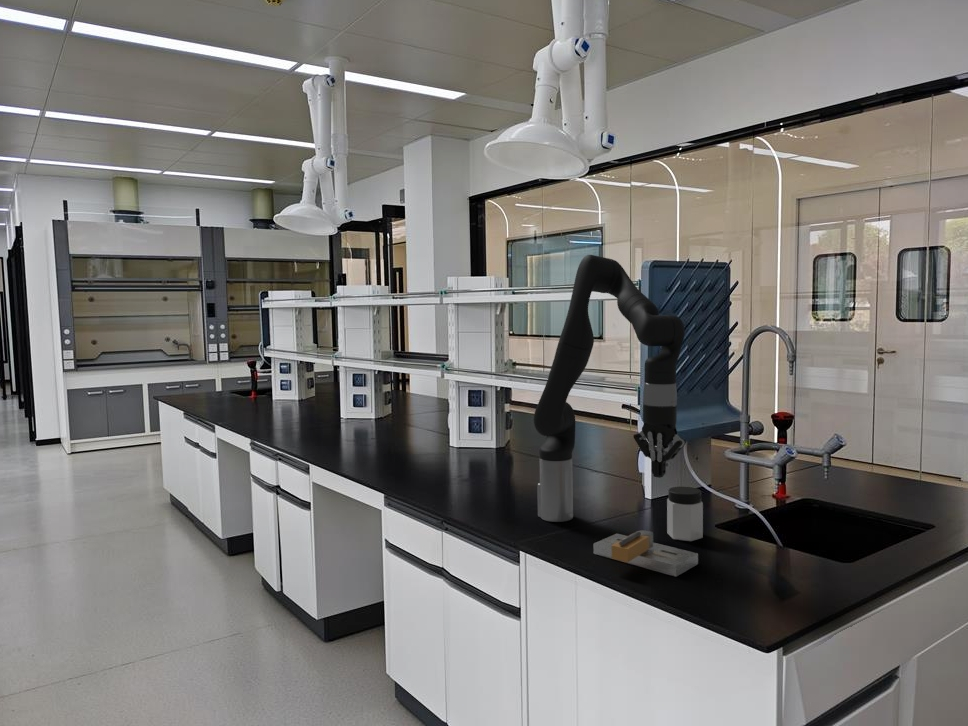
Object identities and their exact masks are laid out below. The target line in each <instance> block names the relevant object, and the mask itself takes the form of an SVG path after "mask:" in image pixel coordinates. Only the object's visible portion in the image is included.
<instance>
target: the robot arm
mask: <svg viewBox="0 0 968 726" xmlns="http://www.w3.org/2000/svg"><path fill="white" fill-rule="evenodd" d="M592 292H596V293H601V294H607V295H608V294H609V295H611V296H613V297H614V298H616V299H617V302H616V303H617V309H618V310H619V313H621V315H622V316H623V317H624V318H625V319H626V320H627V321H628V322H629V323H630V324H631V325H632V328H633V331H634V333H635V335H636V338H637V340H638V341H639V343H641V344H642V345H644V346H646V347H661V349H660V350H659V353H658V354H656V355H653V356H650V357H648V358H646V359H645V361H644V369H643V371H644V380H643V381H644V382H643V390H642V391H643V392H642V422H643V425H642V428H641V431H639V432H638V433H634V434H633V439H634V441H635V442H636V444H637V446H638V447H639V449H640V450H641V452H642V454H643V455H644V457H645V458H649V459H650V460H651V473H652V474H653V478H659V479H661V478H663V477H664V475H666V473H667V471H666V467H667V462H668V461H669V460H674V458H675V457H676V456H677V455H678V454H679V452H681V450H682V449H683V448H684V446H685V445H686V444H687V440H686V439H684V438H683V439H682V438H681V437H680V436H679V435H678V430H677V427H676V424H677V411H678V410H677V408H678V406H677V405H678V403H677V402H678V392H677V364H678V360H679V357H680V354H681V350H682V346H683V344H684V341H685V340H684V339H685V337H686V336H685V334H686V329H685V324H684V322H683V320H682V318H680V317H679V316H678V315H675V314H666V315H665V314H663V315H661V314H660V312H659V308H658V307H657V306H656V304H655V303H654V302H653V301H651V300H650V299H649V298H648V297H647V296H646V295H645V294H644V293H642V291H640V290H639V288H638V287H637V286H636V285H635V283H634V281H632V280H631V278H630V275H628V273H627V272H626V271H625V269H624V268H623V266H622V265H621V264H620V262H618V261H617V260H615V259H612V258H608V257H604V256H599V255H594V254H587V255H585V256H583V258H582V259H581V261H580V263H579V264H578V267H577V270H576V274H575V278H574V284H573V288H572V293H571V298H570V302H569V306H568V310H567V314H566V318H565V321H564V324H563V328H562V331H561V334H560V337H559V338H558V339H559V340H558V343H557V347H556V350H555V354H554V357H553V360H552V364H551V367H550V370H549V374H548V377H547V381H546V383H545V385H544V389H543V391H542V393H541V395H540V399H539V401H538V403H537V405H536V407H535V411H534V414H533V425H534V428H535V430H536V432H538V434H539V435H542V436H543V437H546V438H545V440H544V442H543V444H542V445H541V446H540V448H539V457H538V458H539V483H537V486H536V487H537V492H536V493H537V494H536V495H537V517H539V518H540V519H542V520H544V521H546V522H553V523H554V522H555V523H560V522H562V523H563V522H568V521H571V520H573V519H574V497H573V496H574V492H573V491H574V490H573V487H574V486H573V485H574V484H573V451H574V449H575V444H576V415H575V411H574V409H573V407H572V406H571V404H570V403H569V402H567V399H568V397H569V394H570V392H571V391H572V388H573V387H574V385H575V384H576V382H578V380H579V378H581V377H580V376H581V375H582V374H583V372H584V371H585V369H586V367H587V365H588V363H589V360H590V358H591V354H592V350H593V347H594V343H595V337H594V331H593V327H592V323H591V321H590V316H589V306H590V305H589V304H590V299H591V295H592ZM671 444H672V446H671V447H670V445H671Z"/></svg>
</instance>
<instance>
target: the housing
mask: <svg viewBox="0 0 968 726" xmlns="http://www.w3.org/2000/svg"><path fill="white" fill-rule="evenodd" d="M628 536H629V535H625V534H620V533H615V534H613V535H610V536H608V537H605V538H602V539H601V540H599V541H597V542H594V543H593V554H594V555H598V556H600V557H604V558H607V559H612V547H611V545H613V544H615V543H617V542H619V541H620V540H622V539H624V538H626V537H628ZM612 560H615V561H618V562H623V563H625V564H629V565H632V566H636V567H640V568H643V569H647V570H651V571H654V572H657V573H661V574H664V575H669V576H672V577H675V578H676V577H678V576H679V575H682V574H683V573H686V572H687V571H689V570H691V569H692V568H694V567H695V566H697V565H698V564H699V553H698V552H693V551H690V550H685V549H681V548H677V547H673V546H669V545H664V544H662V543H661V544H660V543H656V542H654V541H653V547H652V548H649V550H647V551H645V552H644V553H642V554H640V555H639V556H637V557H636V558H634V559H632V560H631V561H629V562H624V561H620V560H616V559H612Z"/></svg>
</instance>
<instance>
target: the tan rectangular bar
mask: <svg viewBox="0 0 968 726" xmlns="http://www.w3.org/2000/svg"><path fill="white" fill-rule="evenodd" d="M627 536H628V537H626V538H624V539H622V540H620V541H619V542H617V543H615V544H613V545H611V547H612V560H614V559H616V560H615V561H618V560H620V561H619V562H622V561H624V562H623V563H625V562H629V561H631V560H632V559H634V558H636V557H637V556H639V555H640V554H642V553H644V552H645V551H647V550H649V548H652V547H653V542H654V533H653V531H650V530H645V529H643V530H637V531H635V532H633V533H631V534H629V535H627Z"/></svg>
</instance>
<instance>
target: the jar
mask: <svg viewBox="0 0 968 726" xmlns="http://www.w3.org/2000/svg"><path fill="white" fill-rule="evenodd" d="M667 492H668V498H666V508H667V510H666V532H667V535H669V537H670V538H671V539H672V540H677V541H686V542H693V541H697V540H700V539H703V538H704V537H703V535H704V534H703V533H704V526H703V525H704V520H703V519H704V516H703V515H704V510H703V509H704V503H703V501H702V490H700V489H699V488H696V487H692V486H673V487H670V488H669V489H668V491H667Z"/></svg>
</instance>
